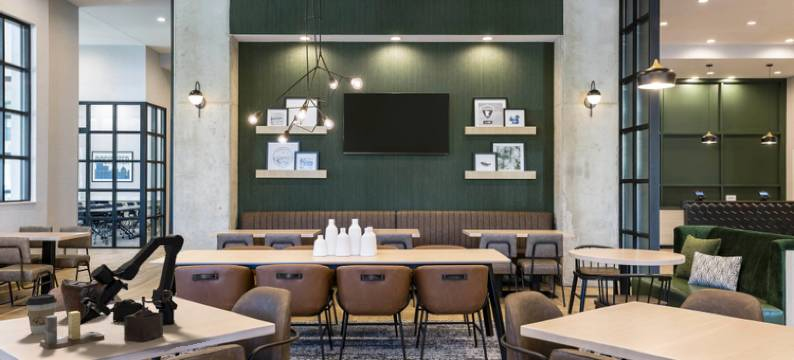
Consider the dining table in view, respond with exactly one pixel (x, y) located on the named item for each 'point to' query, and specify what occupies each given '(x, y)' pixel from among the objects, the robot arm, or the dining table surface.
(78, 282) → the brown wicker basket
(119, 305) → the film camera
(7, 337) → the dining table surface
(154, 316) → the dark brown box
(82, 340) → the gauge board
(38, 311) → the coffee cup
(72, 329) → the leg
